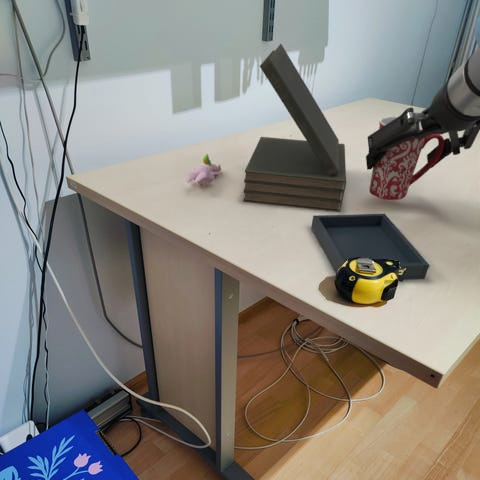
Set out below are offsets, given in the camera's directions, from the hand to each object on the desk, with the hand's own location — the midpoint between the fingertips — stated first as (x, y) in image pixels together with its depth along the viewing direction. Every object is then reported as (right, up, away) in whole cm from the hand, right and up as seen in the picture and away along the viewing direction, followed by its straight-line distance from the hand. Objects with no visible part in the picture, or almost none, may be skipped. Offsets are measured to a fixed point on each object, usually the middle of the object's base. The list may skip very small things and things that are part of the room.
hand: (398, 162), depth 84 cm
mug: (0, -6, +2) cm, 6 cm away
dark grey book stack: (-19, -2, +9) cm, 22 cm away
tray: (-11, -20, -12) cm, 26 cm away
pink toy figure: (-40, -2, +8) cm, 40 cm away
